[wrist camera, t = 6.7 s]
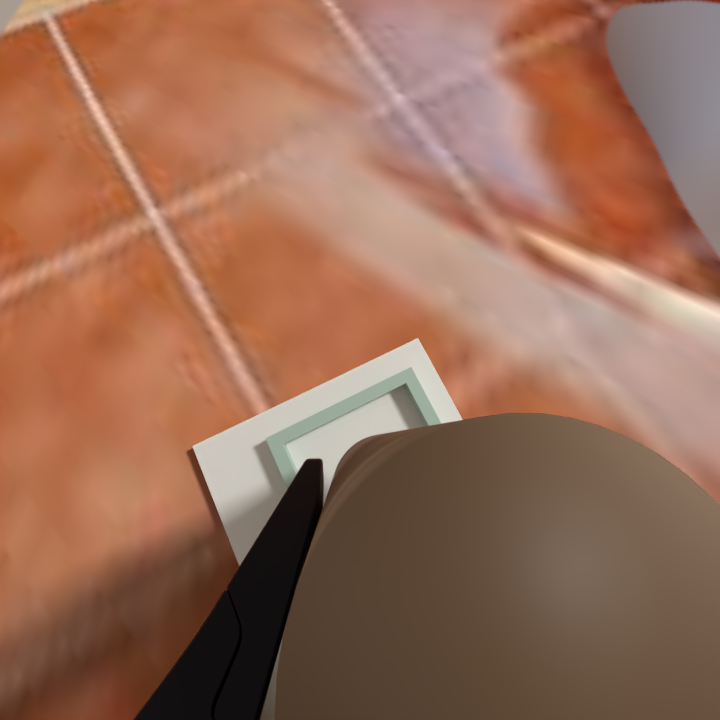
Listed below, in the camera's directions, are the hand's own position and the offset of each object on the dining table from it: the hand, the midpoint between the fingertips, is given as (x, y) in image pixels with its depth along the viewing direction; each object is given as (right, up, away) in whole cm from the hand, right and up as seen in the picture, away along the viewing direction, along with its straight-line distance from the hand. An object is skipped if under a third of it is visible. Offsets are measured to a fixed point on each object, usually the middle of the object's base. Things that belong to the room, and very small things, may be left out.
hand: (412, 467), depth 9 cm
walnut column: (0, -3, +6) cm, 7 cm away
